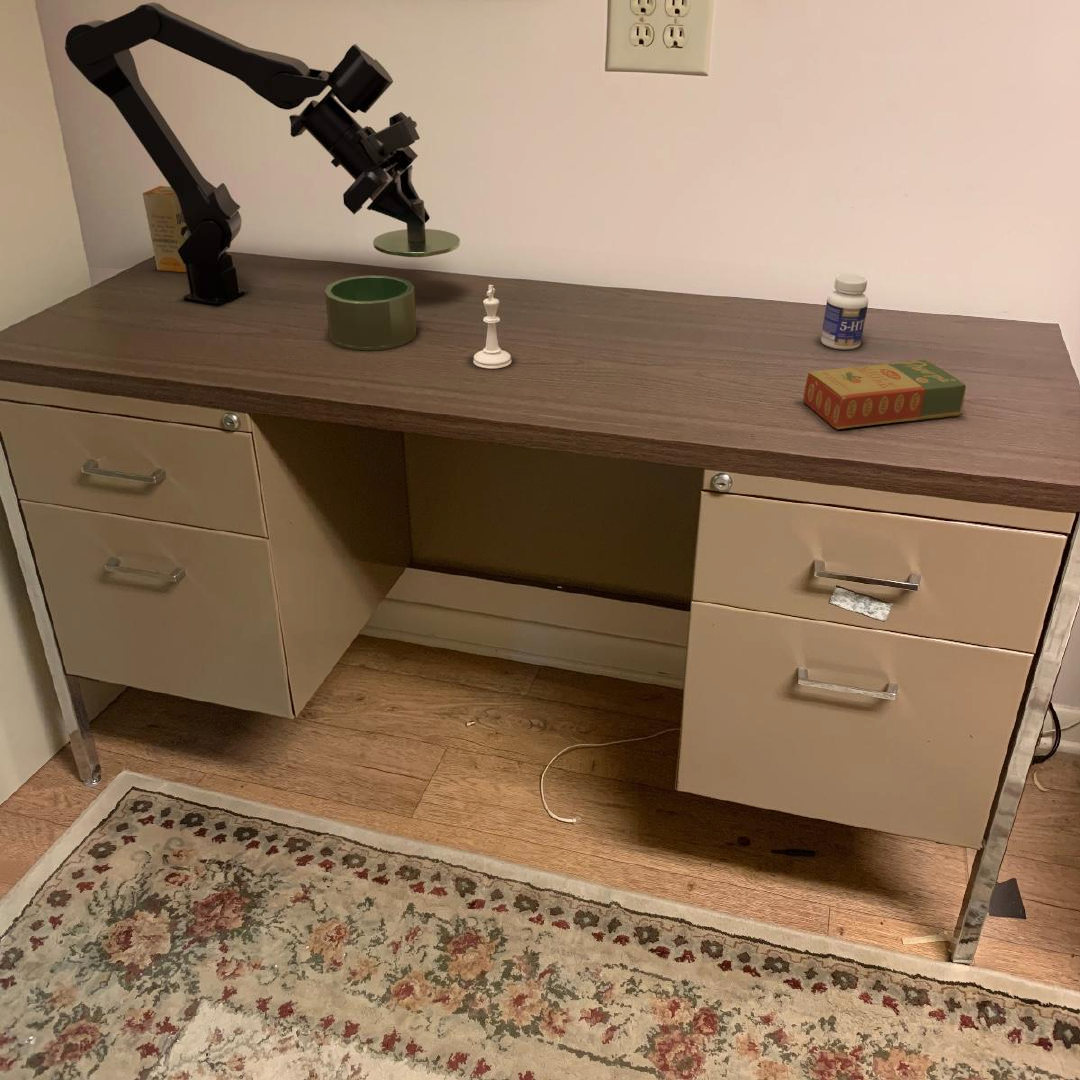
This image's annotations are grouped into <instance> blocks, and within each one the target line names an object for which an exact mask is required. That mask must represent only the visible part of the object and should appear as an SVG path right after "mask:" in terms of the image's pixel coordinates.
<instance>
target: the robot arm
mask: <svg viewBox="0 0 1080 1080" xmlns="http://www.w3.org/2000/svg"><path fill="white" fill-rule="evenodd" d="M149 40H152V41H156V42H158V43H160V44H162V45H164V46H166V47H169V48H172V49H173V50H174V51H175V50H176V51H177V52H180V53H181V54H184V55H187V56H189V57H191V58H193V59H195V60H197V61H200V62H202V63H204V64H206V65H208V66H210V67H213V68H215V69H217V70H219V71H221V72H224V73H226V74H228V75H230V76H232V77H235V78H237V79H238V80H239V81H241V82H243V84H245V85H246V86H247V87H248V88H249V89H251V90H252V91H253V92H254V93H255V94H257V95H258V96H259V97H261V98H263V99H264V100H266V101H267V102H269V103H270V104H272V105H273V106H275V107H276V108H278V109H281V110H287V111H288V110H290V111H291V110H294V109H296V108H299V106H300V105H302V104H303V103H304V102H306V100H307V99H310V98H314V97H318V96H320V95H321V94H322V93H323V92H324V91H325V90H326V89H327V88H329V87H330V88H331V89H329V91H328V92H327V93H326V94H325V95H324V97H323V98H321V100H320V101H318V100H315V99H312V100H311V101H310V102H309V103H308V104H307V105H306V106H305V108H303V110H302V111H301V112H300V113H299V114H290V115H289V117H288V118H289V122H290V136H291V137H293V138H296V137H298V136H301V135H303V134H304V133H305V131H307V132H308V133H309V134H310V135H311V136H312V137H313V138H314V139H315V140H316V141H317V142H318V143H319V144H320V145H321V146H322V148H323V149H325V150H326V152H327V153H329V155H330V156H331V157H332V160H331V161H330V163H331V164H332V165H333V166H334V167H335V168H338V167H340V166H341V168H343V169H344V170H345V171H346V172H347V173H348V175H349V176H350V177H351V178H352V179H353V180H354V181H353V183H352V184H351V185H350V186H349V187H348V188H347V189H346V191H344V192H343V194H342V199H343V205H344V206H345V208H347V209H348V211H350V212H351V213H352V215H355V214H357V213H358V212H359V211H361V209H363V206H364V205H365V204H366V202H367V201H369V199H370V200H371V203H370V204H369V205H368V206H367V207H366V209H367V210H368V211H373V212H376V213H379V214H382V215H385V216H387V217H390V218H393V219H395V220H398V221H400V222H403V223H405V224H406V225H407V224H410V225H412V226H414V227H417V228H421V227H422V226H423V225H424V221H423V219H422V218H421V216H420V215H419V214H418V212H417V211H416V210H415V208H414V207H413V206H412V204H411V203H410V202H409V199H421V198H420V196H419V195H418V192H417V191H416V189H415V187H414V185H413V182H412V175H413V174H412V172H413V169H414V168H413V165H412V164H413V162H414V161H415V160H416V159H417V158H418V157H419V154H417V153H416V152H415V151H414V150H413V148H411V145H413V144H415V143H416V141H419V140H420V139H421V138H420V135H419V133H418V131H417V129H416V128H417V126H418V124H417V121H415V120H413V118H412V117H411V116H410V115H409V116H407V115H406V114H405V113H404V112H403V111H400V112H398V113H396V114H393V115H392V116H389V120H388V121H389V126H386V127H384V128H383V129H381V130H379V131H376V130H374V128H372V127H371V126H368V125H366V126H364V127H363V126H361V124H359V122H358V121H357V120H356V119H355V118H354V117H353V116H352V115H351V114H350V113H349V112H351V113H353V114H356V113H358V111H360V112H361V113H364V114H366V113H367V112H369V110H370V109H371V108H372V107H373V106H374V105H375V103H376V102H377V101H378V100H379V99H380V98H381V97H382V96H383V94H384V93H385V92H386V91H387V90H388V89H389V87H390V86H391V85H393V84H394V80H393V78H392V76H391V75H390V73H389V72H388V71H387V70H386V68H385V67H384V66H383V65H382V64H381V63H380V62H379V60H378V59H375V58H373V57H372V56H371V55H370V54H369V53H367V52H366V51H364V50H363V49H361V48H360V47H359V46H358V44H357V43H354V44H352V45H351V46H350V47H349V49H348V50H347V51H346V52H345V54H344V56H343V58H342V59H341V60H340V62H338V64H337V65H336V67H334V69H332V70H331V71H328V70H321V69H316V68H311V67H309V65H308V64H306V63H305V62H304V61H302V60H301V59H299V58H295V57H292V56H289V55H285V54H281V53H278V52H273V51H268V50H262V49H256V48H253V47H250V46H248V45H245V44H243V43H240V42H238V41H236V40H233V39H232V38H229V37H227V36H225V35H223V34H221V33H219V32H217V31H215V30H213V29H210V28H208V27H206V26H204V25H201V24H199V23H197V22H195V21H194V20H191V19H188V18H186V17H184V16H182V15H180V14H178V13H175V12H173V11H171V10H169V9H167V8H166V7H165V6H164V5H162V4H160V3H159V2H158V3H157V2H154V1H153V2H147V3H144V4H140V5H138V6H137V7H135V8H134V10H132V11H129V12H128V13H125V14H122V15H120V16H118V17H115V18H114V19H110V20H109V21H105V20H102V19H95V20H91V21H88V22H83V23H80V24H78V25H75V26H72V27H71V29H70V30H68V32H67V34H66V36H65V42H64V43H65V46H64V50H65V54H66V57H67V58H68V60H69V61H70V62H71V64H72V65H73V66H74V67H75V68H76V69H77V71H79V73H80V74H82V76H83V77H84V78H85V79H86V80H87V81H88V83H90V84H91V85H92V86H93V87H95V88H96V89H97V90H99V91H100V92H101V93H103V94H104V95H105V96H106V97H108V99H110V100H111V101H112V103H113V104H114V105H115V107H116V109H117V110H118V111H119V113H120V114H121V116H122V117H123V119H124V121H125V122H126V124H127V125H128V126H129V127H130V129H131V130H132V132H133V134H134V135H135V136H136V138H137V139H138V142H140V144H141V145H142V147H143V148H144V149H145V151H146V153H147V154H148V156H149V157H150V158H151V160H152V161H153V163H154V164H155V165H156V167H157V168H158V170H159V171H160V173H161V174H162V176H163V178H164V179H165V180H166V182H167V183H168V186H169V187H171V188H172V189H173V191H174V192H175V194H176V196H177V198H178V201H179V205H180V208H181V212H182V215H183V219H184V221H185V223H186V225H187V227H188V229H189V231H190V233H191V235H190V236H189V237H188V239H187V240H186V241H185V242H184V243H183V244H182V246H181V247H180V248H179V249H178V253H179V255H180V257H181V259H182V261H183V262H184V264H185V266H186V271H187V272H186V276H187V282H188V287H189V293H187V294H186V295H183V301H188V302H189V301H190V302H195V303H201V304H207V305H212V306H220V305H223V304H225V303H226V302H229V301H230V300H233V299H235V298H237V297H240V296H241V295H244V294H245V289H242V288H239V282H238V276H237V270H236V269H237V268H236V266H234V262H233V255H232V254H229V253H227V250H228V249H230V248H231V245H232V242H233V240H234V239H235V238H236V237H237V236H238V234H239V233H240V231H241V229H242V222H243V221H242V216H241V213H240V211H239V210H240V208H241V205H240V204H238V203H237V202H236V201H235V200H234V199H233V197H232V195H231V194H230V191H229V189H228V187H227V186H226V184H225V183H224V182H221V183H220V184H219V185H218V186H214V184H212V183H210V182H209V181H208V180H207V179H206V178H205V177H204V176H203V175H202V173H201V172H200V170H199V169H198V167H197V165H196V164H195V163H194V161H193V160H192V158H191V157H190V155H189V153H188V152H187V151H186V150H185V147H184V146H183V145H182V143H181V141H180V140H179V138H178V137H177V136H176V134H175V132H174V131H173V130H172V128H171V126H170V125H169V123H168V122H167V121H166V119H165V118H164V116H163V115H162V113H161V112H160V109H158V107H157V105H156V104H155V102H154V100H153V99H152V98H151V96H150V95H149V93H148V91H147V90H146V89H145V87H144V86H143V84H142V82H141V80H140V77H139V73H138V69H137V65H136V62H135V59H134V56H133V54H132V52H131V50H130V49H132V48H134V47H137V46H140V45H141V44H142V43H143V44H144V43H146V42H147V41H149ZM335 97H336V98H335ZM337 100H338V101H337ZM341 104H342V105H343V106H342V105H341ZM345 108H346V109H347V110H348V111H349V112H348V111H347V110H346V109H345ZM424 213H425V224H426V223H428V221H429V220H430V219H431V216H430V214H429V213H428V211H427V209H426V207H425V206H424Z"/></svg>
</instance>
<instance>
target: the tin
mask: <svg viewBox="0 0 1080 1080" xmlns="http://www.w3.org/2000/svg"><path fill="white" fill-rule="evenodd" d="M324 297H325V307H326V308H325V309H326V317H327V325H328V327H327V328H328V335H329V337H330V341H331V342H332V343H333V344H334V345H336V346H338V347H340V348H344V349H347V350H354V351H364V352H365V351H368V352H369V351H370V352H371V351H383V350H390V349H394V348H398V347H401V346H404V345H406V344H408V343H410V342H411V341H413V340H414V339H415V338H416V336H417V314H416V313H417V311H416V297H415V286H414V284H412V283H411V281H409V280H406V279H404V278H401V277H399V276H390V275H372V274H371V275H369V274H368V275H357V276H351V277H347V278H343V279H338V280H336V281H334V282H332V283H330V284H328V285H327V287H326V288H325V290H324Z"/></svg>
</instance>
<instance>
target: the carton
mask: <svg viewBox="0 0 1080 1080" xmlns="http://www.w3.org/2000/svg"><path fill="white" fill-rule="evenodd" d="M966 389H967V384H966V383H965V382H964V381H961V380H960V379H958V377H955V376H953V375H952V374H950V373H948V372H947V371H945V370H943V369H942V368H940V367H939V366H937V365H935V364H934V363H932V362H931V361H929V360H927V359H921V360H919V359H918V360H909V361H901V362H891V363H882V364H872V365H862V366H851V367H842V368H832V369H823V370H813V371H808V372H807V376H806V382H805V385H804V391H803V399H802V402H803V403H804V404H806V405H807V406H808V407H809V408H810V409H811V410H812V411H813V412H814V413H816V414H817V415H818V416H820V417H821V418H822V419H823V420H824V421H825V422H827V423H828V424H829V425H830V426H832V427H833V428H834V429H835V430H842V429H849V428H850V429H851V428H857V427H866V426H874V425H883V424H892V423H900V422H911V421H912V422H913V421H924V420H925V421H926V420H935V419H945V418H954V417H959V416H960V415H961V414H962V411H963V407H964V402H965V396H966Z"/></svg>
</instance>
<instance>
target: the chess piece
mask: <svg viewBox="0 0 1080 1080" xmlns="http://www.w3.org/2000/svg"><path fill="white" fill-rule="evenodd" d="M494 293H496V288H494V284H488V290H487V291H486V297H487V298H485V299H484V300H483V302H482V304H483V306H484V309H485V313H486V316H484V317H483V319H482V320H483V322H484V323H485V324H487V330H486V341H485V347H483V349H482V350H480V351H479V350H478V351H477V352H476V353H475V354H474V355H473V359H472V361H473V364H474V365H475V366H476V367H479V368H482V369H490V370H491V369H492V370H494V369H495V370H496V369H502V368H506V367H508V366H509V365H511V364H512V363H513V362H512V355H511V353H509V352H508V351H506V350H503V349H502V348H501V347H500V346H499V341H498V334H497V326H496V324H497V323H499V322H500V321H501V319H500V317H499V316H498V315H496V314H497V313H498V312H497V311H498V308H499V305H500V300H499V299H498V298H496V297H494Z"/></svg>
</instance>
